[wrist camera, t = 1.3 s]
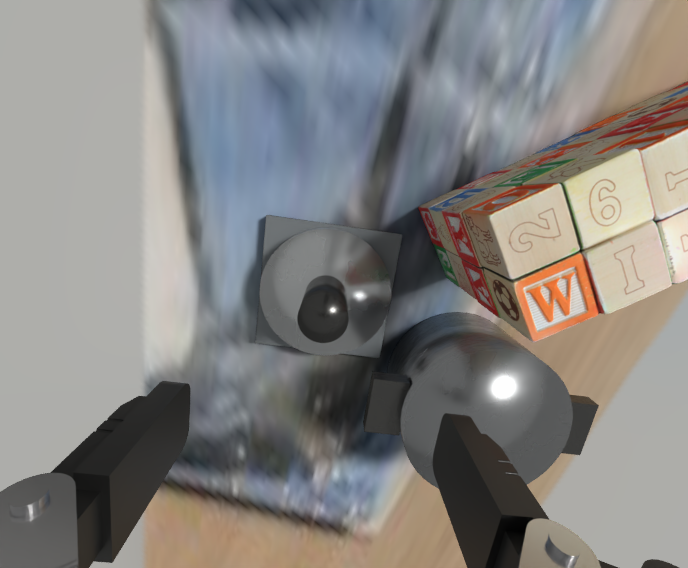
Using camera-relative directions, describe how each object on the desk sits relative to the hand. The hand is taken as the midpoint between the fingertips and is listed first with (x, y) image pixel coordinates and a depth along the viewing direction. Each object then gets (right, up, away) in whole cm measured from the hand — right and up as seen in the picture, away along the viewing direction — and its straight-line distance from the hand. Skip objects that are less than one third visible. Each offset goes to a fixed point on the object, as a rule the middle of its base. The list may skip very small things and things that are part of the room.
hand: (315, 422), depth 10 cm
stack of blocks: (+17, +12, +15) cm, 25 cm away
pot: (+10, -3, +18) cm, 21 cm away
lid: (0, +4, +15) cm, 15 cm away
